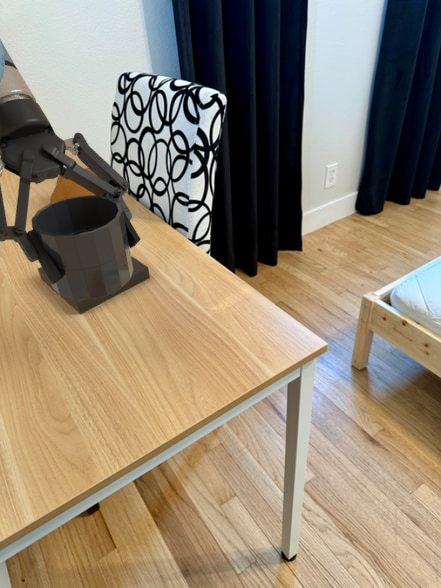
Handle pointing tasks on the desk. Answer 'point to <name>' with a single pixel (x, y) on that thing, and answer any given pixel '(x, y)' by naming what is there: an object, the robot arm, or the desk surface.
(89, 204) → the cup
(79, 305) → the scale
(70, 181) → the bread
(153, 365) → the desk surface
